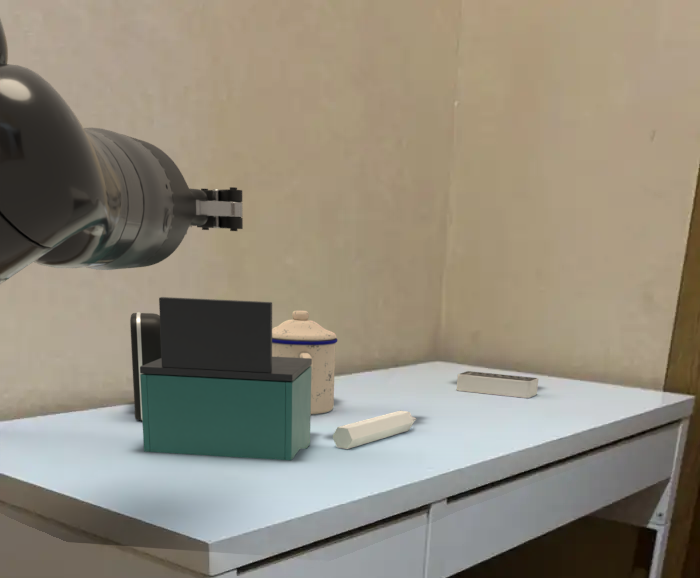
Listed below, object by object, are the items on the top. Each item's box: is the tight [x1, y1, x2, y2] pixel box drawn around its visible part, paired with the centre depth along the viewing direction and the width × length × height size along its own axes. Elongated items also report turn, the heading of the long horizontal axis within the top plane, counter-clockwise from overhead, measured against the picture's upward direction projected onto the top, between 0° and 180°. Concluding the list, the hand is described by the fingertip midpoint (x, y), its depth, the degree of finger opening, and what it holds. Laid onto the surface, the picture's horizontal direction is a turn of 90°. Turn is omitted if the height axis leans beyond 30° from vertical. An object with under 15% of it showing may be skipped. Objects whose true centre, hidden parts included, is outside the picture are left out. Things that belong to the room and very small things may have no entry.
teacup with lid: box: [272, 310, 338, 415], centre depth 113 cm, size 12×9×12 cm
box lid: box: [140, 296, 312, 381], centre depth 88 cm, size 14×12×7 cm
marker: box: [331, 410, 417, 450], centre depth 102 cm, size 3×2×16 cm
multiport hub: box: [456, 370, 539, 399], centre depth 135 cm, size 4×11×2 cm, turn 63°
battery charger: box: [129, 311, 161, 421], centre depth 106 cm, size 7×4×11 cm, turn 11°
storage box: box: [140, 366, 312, 461], centre depth 91 cm, size 14×12×8 cm
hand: (187, 210), depth 72 cm, fingers closed
